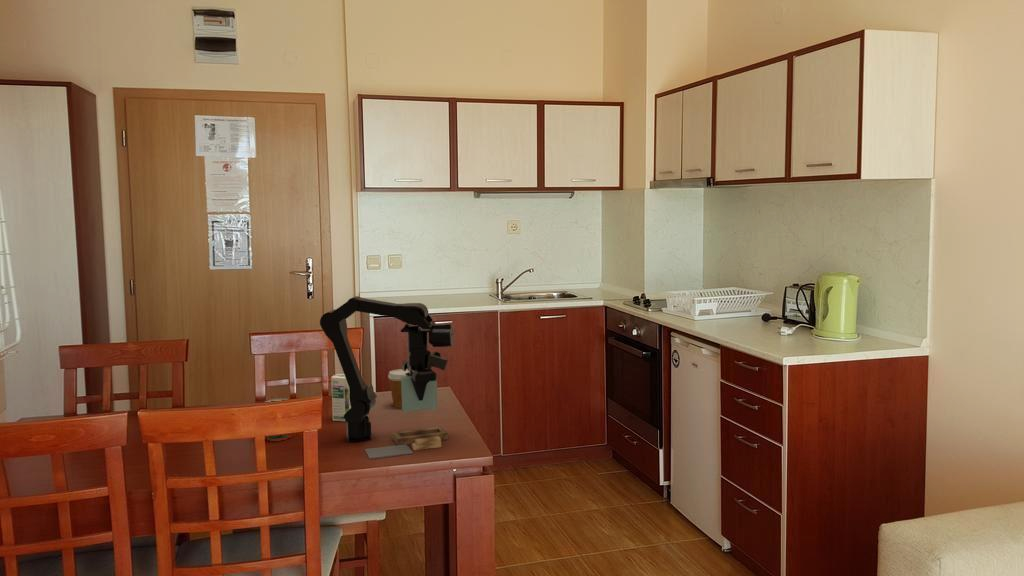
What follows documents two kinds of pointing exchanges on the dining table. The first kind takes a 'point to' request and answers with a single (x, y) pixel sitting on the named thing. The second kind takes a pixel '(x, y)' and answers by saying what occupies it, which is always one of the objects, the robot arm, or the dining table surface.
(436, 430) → the rack
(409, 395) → the panel
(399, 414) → the dining table surface
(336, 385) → the syrup box
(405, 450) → the mat
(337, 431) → the dining table surface
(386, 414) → the dining table surface
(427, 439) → the offcut stack
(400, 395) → the disposable coffee cup
